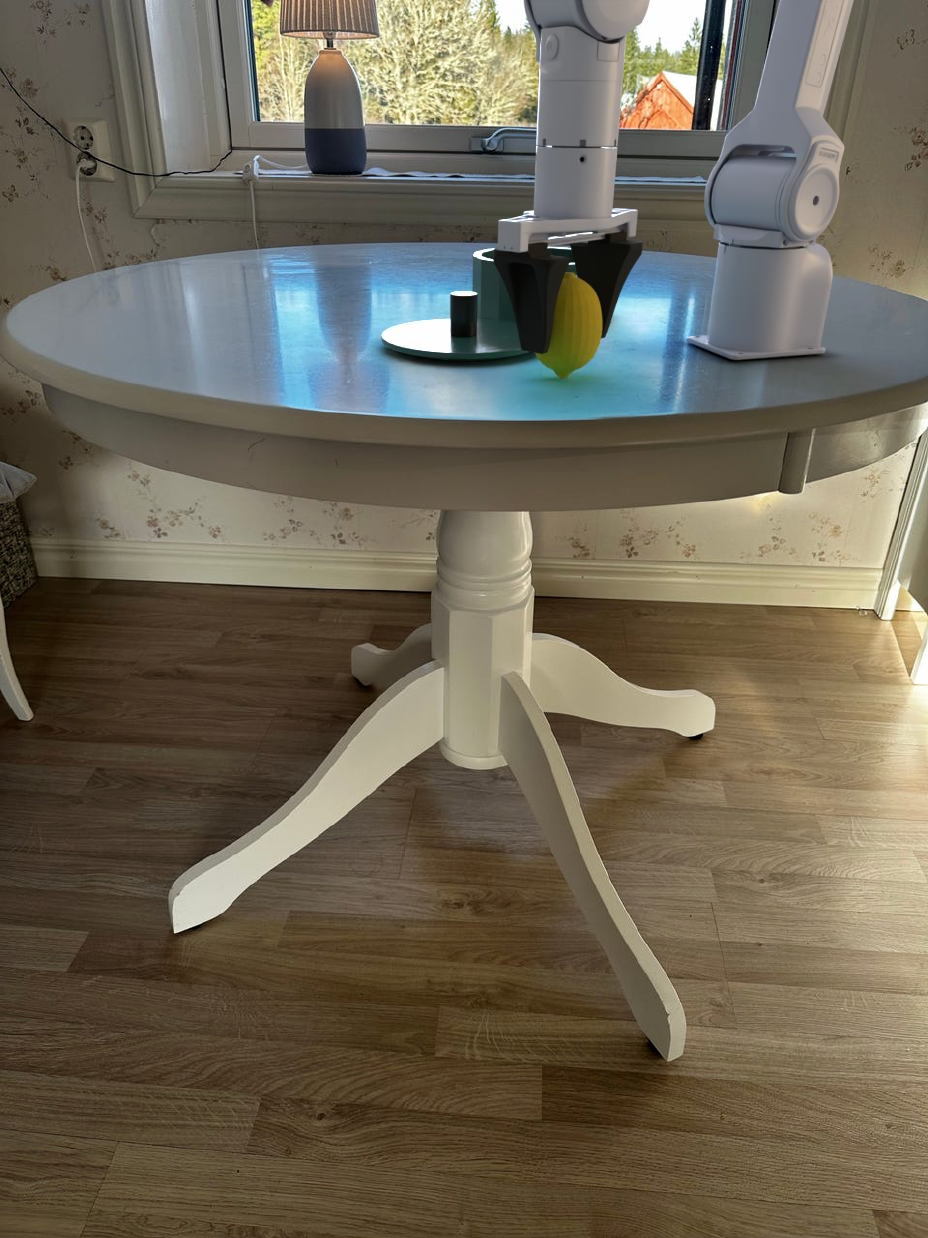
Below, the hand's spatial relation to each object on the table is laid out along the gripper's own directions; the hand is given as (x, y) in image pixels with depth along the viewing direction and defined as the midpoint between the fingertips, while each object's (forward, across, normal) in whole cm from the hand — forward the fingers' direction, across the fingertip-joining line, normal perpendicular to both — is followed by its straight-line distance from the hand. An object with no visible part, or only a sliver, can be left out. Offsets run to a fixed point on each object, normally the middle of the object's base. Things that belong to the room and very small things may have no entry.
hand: (564, 343), depth 72 cm
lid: (+2, -3, -13) cm, 14 cm away
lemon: (+3, 0, 0) cm, 3 cm away
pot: (+3, -20, -18) cm, 26 cm away
